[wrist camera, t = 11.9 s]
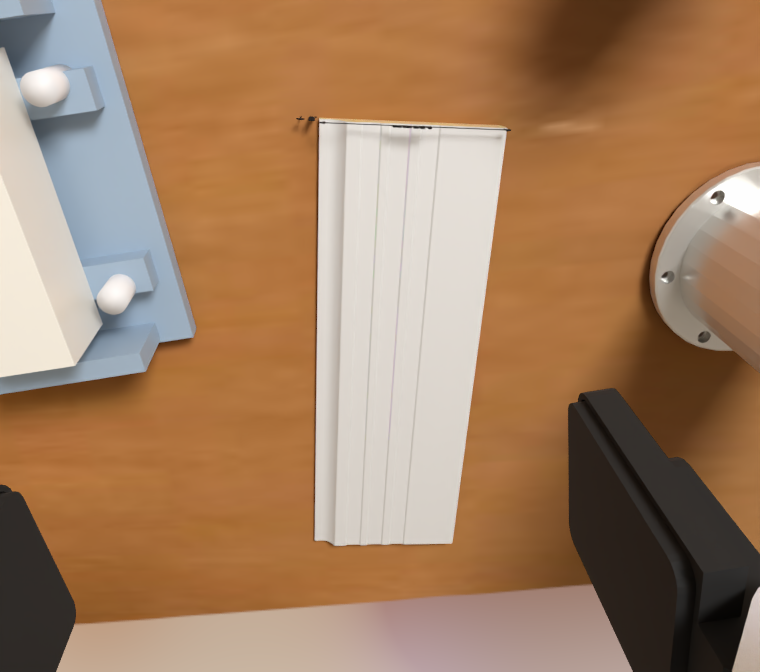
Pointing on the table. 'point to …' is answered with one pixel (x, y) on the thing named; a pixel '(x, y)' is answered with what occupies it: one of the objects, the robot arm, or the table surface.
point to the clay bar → (36, 254)
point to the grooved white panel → (398, 321)
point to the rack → (96, 185)
